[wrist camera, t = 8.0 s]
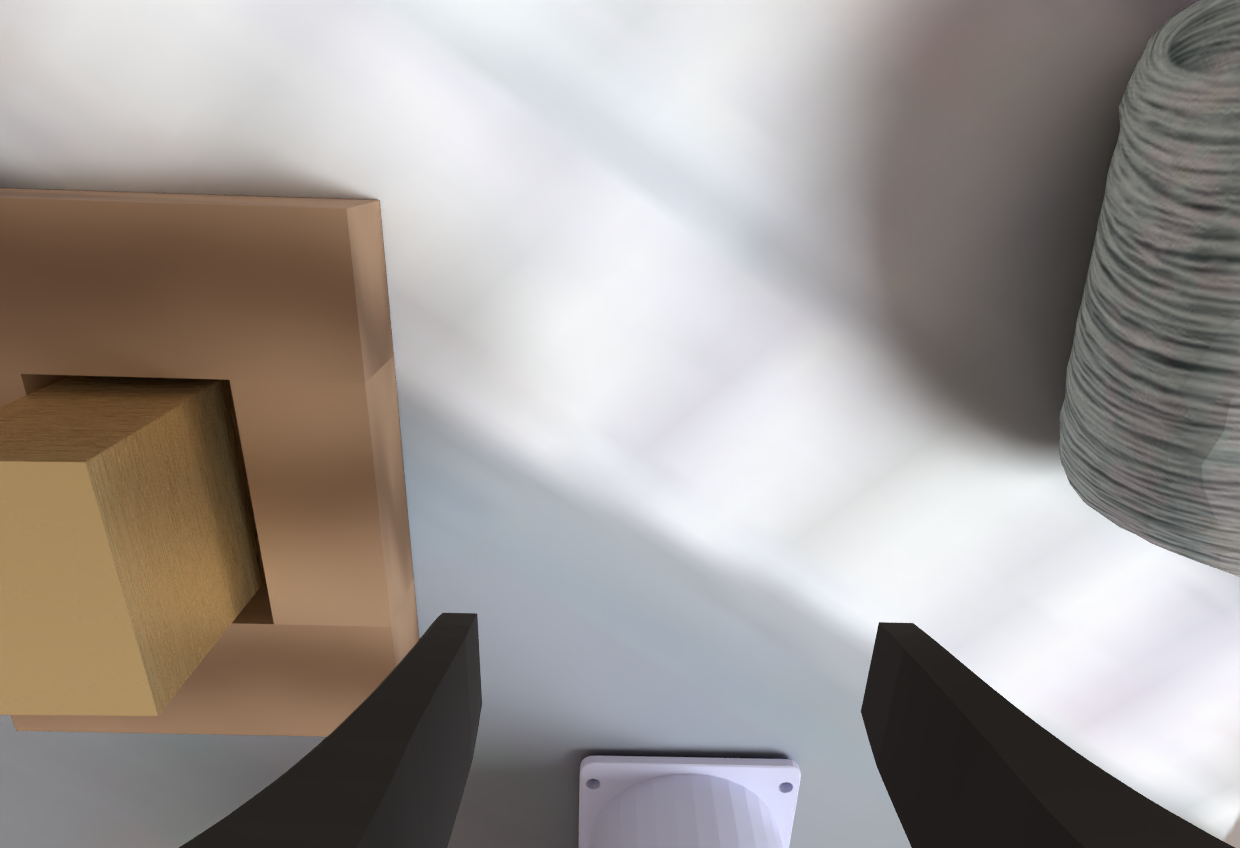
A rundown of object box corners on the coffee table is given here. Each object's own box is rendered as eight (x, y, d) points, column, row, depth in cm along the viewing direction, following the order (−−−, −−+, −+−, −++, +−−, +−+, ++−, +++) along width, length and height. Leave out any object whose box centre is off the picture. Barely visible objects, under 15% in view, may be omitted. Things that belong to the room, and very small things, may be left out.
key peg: (253, 359, 20) (85, 462, 14) (287, 551, 23) (158, 715, 16) (112, 357, 20) (-122, 459, 14) (162, 550, 23) (-19, 714, 16)
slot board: (423, 681, 25) (403, 737, 22) (73, 674, 24) (16, 730, 22) (379, 200, 19) (346, 208, 16) (-84, 185, 19) (-184, 191, 16)
